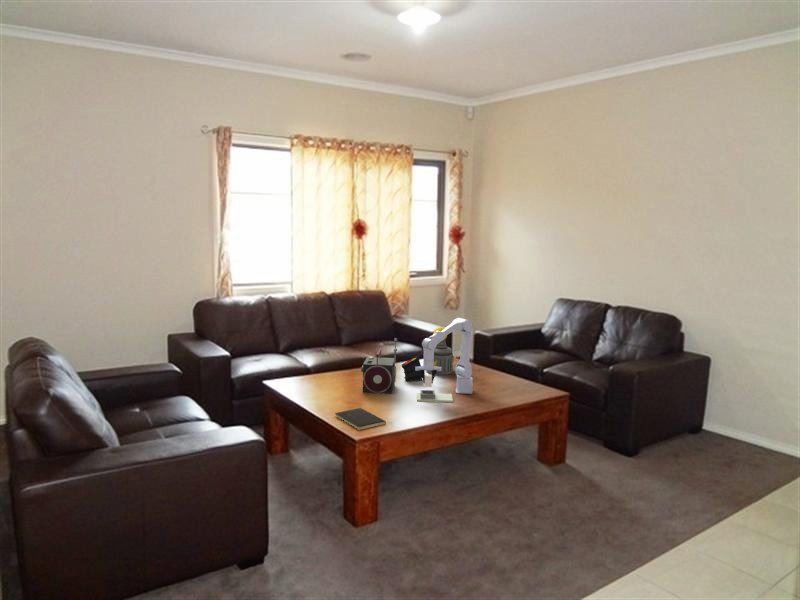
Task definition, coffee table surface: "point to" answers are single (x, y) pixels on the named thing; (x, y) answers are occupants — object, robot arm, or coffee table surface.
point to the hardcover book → (360, 418)
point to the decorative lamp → (443, 356)
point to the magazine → (412, 370)
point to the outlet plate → (433, 396)
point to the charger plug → (428, 381)
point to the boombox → (379, 374)
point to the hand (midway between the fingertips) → (427, 382)
